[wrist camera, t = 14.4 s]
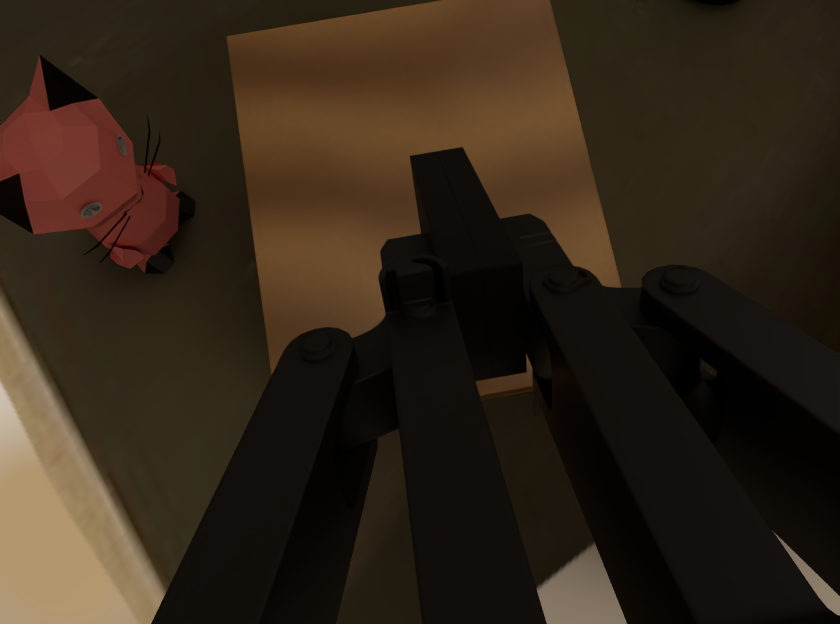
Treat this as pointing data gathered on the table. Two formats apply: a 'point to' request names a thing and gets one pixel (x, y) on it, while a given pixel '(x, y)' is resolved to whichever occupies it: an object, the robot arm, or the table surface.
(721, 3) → the soda can
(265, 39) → the chest lid
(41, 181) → the cat figurine
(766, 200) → the table surface
